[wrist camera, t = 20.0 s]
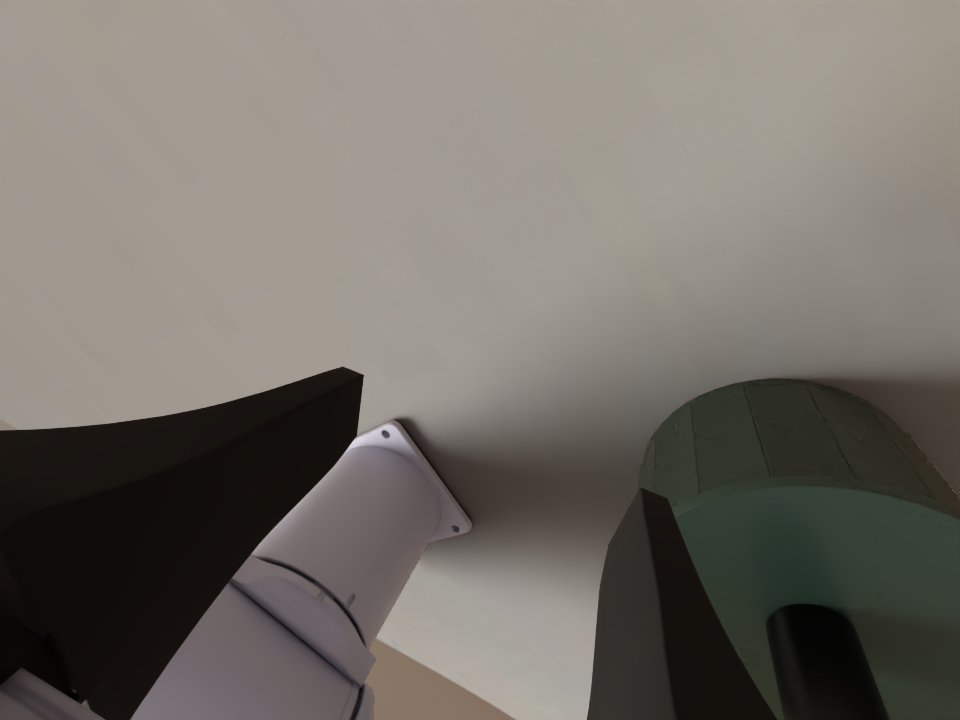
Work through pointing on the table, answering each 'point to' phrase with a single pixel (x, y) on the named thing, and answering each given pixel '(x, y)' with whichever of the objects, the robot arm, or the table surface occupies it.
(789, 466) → the green faceted bucket
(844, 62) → the table surface
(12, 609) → the robot arm
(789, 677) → the lid
